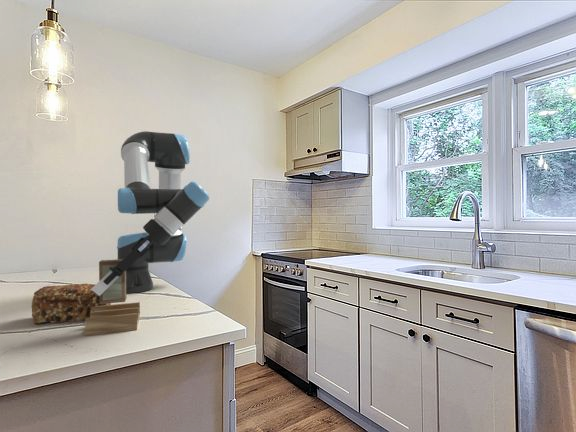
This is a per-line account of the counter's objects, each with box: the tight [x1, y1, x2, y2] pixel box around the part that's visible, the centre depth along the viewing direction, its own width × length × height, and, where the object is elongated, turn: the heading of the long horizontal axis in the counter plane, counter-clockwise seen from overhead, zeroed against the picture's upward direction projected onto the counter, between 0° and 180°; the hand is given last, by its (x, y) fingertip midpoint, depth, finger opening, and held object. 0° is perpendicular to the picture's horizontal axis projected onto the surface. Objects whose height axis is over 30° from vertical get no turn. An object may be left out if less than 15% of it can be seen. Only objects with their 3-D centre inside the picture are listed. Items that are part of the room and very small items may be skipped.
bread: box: [31, 283, 112, 325], centre depth 102 cm, size 19×11×10 cm, turn 107°
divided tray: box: [84, 301, 141, 337], centre depth 95 cm, size 15×12×4 cm
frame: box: [98, 258, 127, 304], centre depth 92 cm, size 4×6×11 cm
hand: (97, 290), depth 90 cm, fingers closed on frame, 4 cm apart
